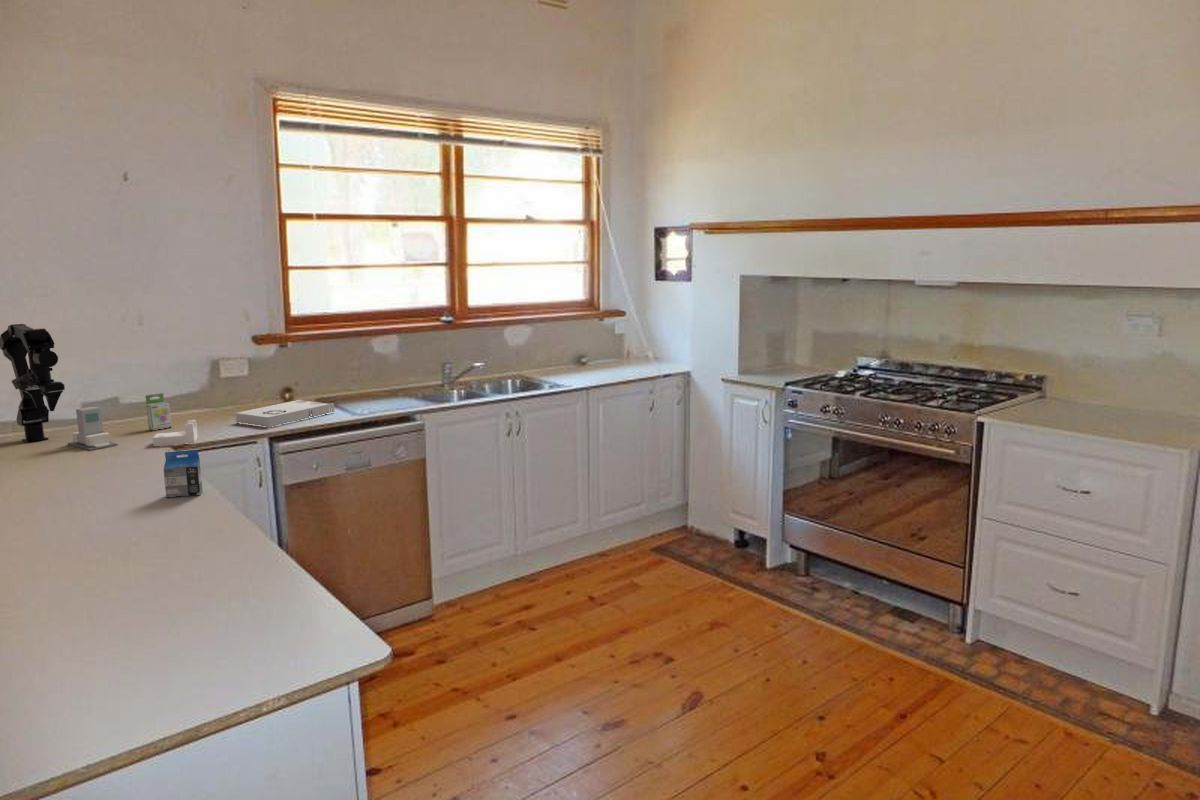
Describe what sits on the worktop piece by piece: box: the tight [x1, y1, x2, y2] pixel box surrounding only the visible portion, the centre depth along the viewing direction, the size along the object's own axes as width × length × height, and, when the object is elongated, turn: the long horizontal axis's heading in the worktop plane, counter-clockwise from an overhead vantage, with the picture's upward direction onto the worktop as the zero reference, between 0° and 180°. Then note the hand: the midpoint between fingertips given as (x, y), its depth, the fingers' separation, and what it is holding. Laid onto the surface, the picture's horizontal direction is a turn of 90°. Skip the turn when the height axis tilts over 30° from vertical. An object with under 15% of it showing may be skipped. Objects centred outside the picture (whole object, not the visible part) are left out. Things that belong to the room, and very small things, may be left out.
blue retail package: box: [163, 449, 203, 498], centre depth 232 cm, size 9×4×12 cm, turn 105°
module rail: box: [67, 431, 119, 452], centre depth 294 cm, size 17×9×4 cm, turn 55°
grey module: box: [75, 406, 104, 444], centre depth 293 cm, size 5×6×12 cm
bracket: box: [152, 419, 198, 447], centre depth 295 cm, size 13×7×8 cm, turn 107°
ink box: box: [145, 392, 173, 431], centre depth 318 cm, size 7×4×13 cm, turn 143°
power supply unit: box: [235, 399, 335, 427], centre depth 337 cm, size 19×33×5 cm, turn 151°
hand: (45, 410), depth 290 cm, fingers open, 9 cm apart
